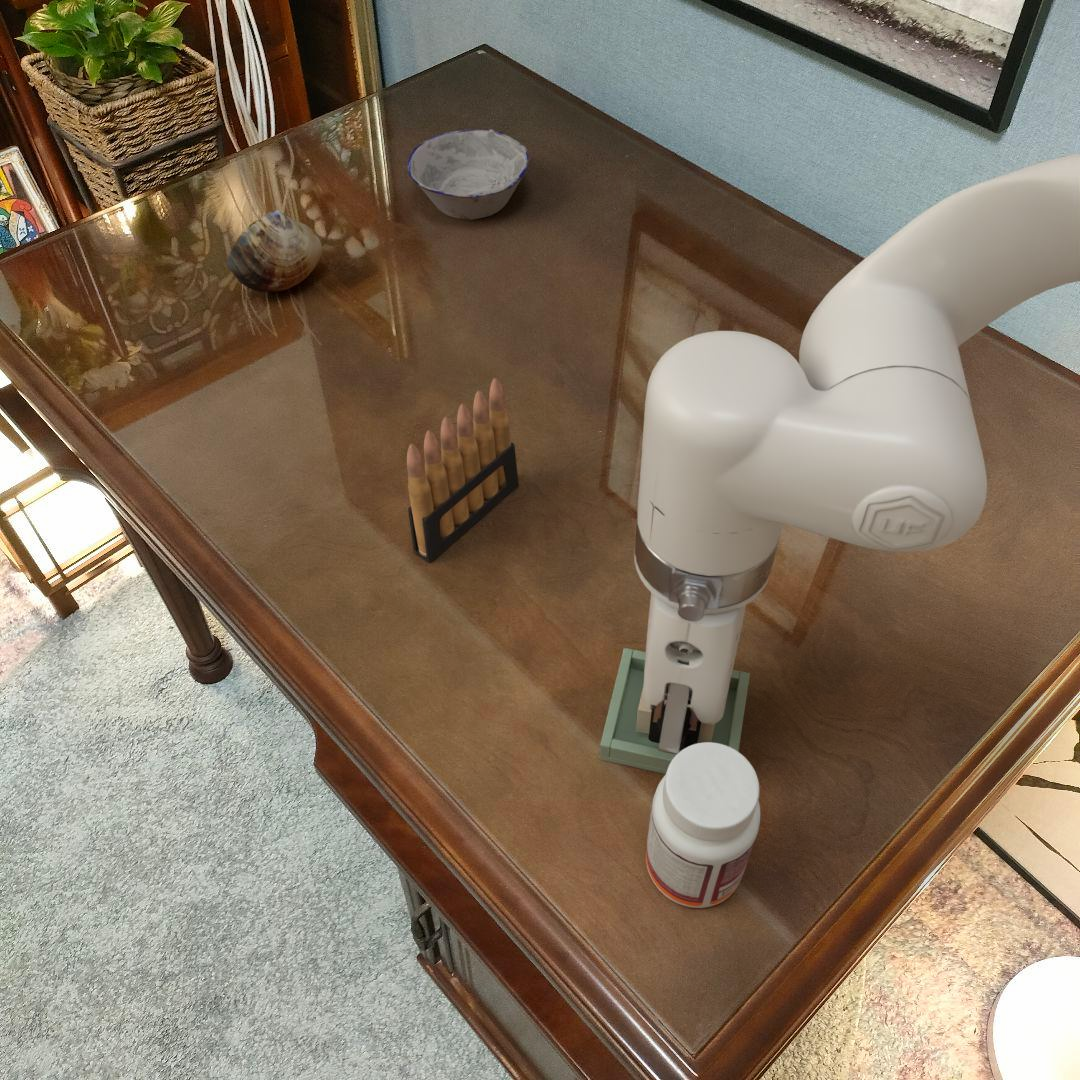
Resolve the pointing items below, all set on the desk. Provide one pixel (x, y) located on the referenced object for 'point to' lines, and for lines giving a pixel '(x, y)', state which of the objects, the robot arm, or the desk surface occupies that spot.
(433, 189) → the bowl
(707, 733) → the beige block
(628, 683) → the shallow square green tray
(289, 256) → the seashell
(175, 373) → the desk surface
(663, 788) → the pill bottle
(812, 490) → the robot arm
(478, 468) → the ammunition clip
